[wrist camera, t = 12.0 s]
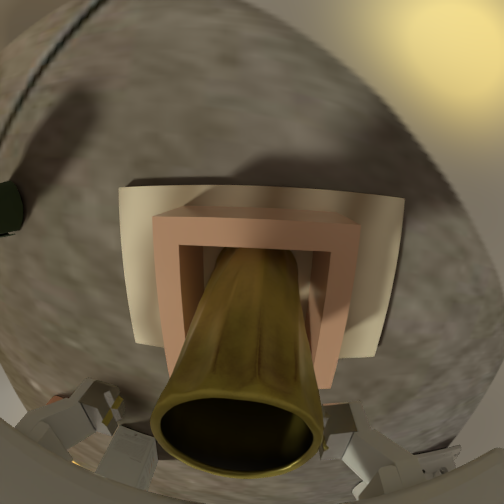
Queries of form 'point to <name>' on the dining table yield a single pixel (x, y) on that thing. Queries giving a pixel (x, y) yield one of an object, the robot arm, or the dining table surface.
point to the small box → (130, 458)
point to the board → (345, 203)
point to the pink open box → (267, 237)
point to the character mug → (10, 209)
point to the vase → (244, 374)
